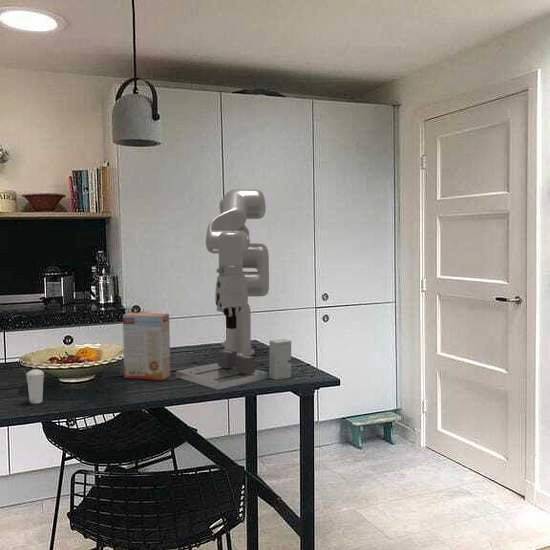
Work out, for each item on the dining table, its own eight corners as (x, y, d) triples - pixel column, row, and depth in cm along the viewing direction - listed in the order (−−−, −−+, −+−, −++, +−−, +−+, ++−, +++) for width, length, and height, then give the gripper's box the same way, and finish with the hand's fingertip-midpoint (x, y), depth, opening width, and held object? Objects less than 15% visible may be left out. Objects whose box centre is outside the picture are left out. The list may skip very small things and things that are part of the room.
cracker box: (171, 376, 200) (170, 313, 199) (162, 381, 194) (161, 315, 193) (133, 373, 204) (131, 311, 203) (123, 378, 199) (122, 313, 197)
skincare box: (276, 380, 195) (276, 342, 194) (268, 377, 199) (268, 340, 198) (292, 377, 199) (292, 340, 198) (284, 374, 202) (284, 338, 201)
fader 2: (235, 371, 197) (235, 355, 196) (244, 369, 199) (244, 354, 199) (245, 374, 193) (245, 358, 193) (255, 372, 196) (254, 356, 195)
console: (176, 377, 200) (175, 370, 200) (224, 367, 213) (224, 361, 213) (217, 389, 184) (217, 382, 184) (267, 378, 197) (267, 372, 197)
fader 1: (218, 366, 205) (217, 351, 204) (227, 364, 207) (227, 349, 207) (227, 368, 201) (227, 353, 200) (236, 366, 204) (236, 351, 203)
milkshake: (22, 401, 172) (21, 366, 171) (42, 399, 175) (41, 364, 174) (25, 405, 168) (24, 369, 167) (46, 402, 171) (45, 367, 170)
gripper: (219, 273, 187) (219, 333, 189) (256, 270, 197) (256, 326, 199) (204, 271, 192) (205, 329, 194) (241, 268, 202) (242, 323, 204)
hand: (231, 328), depth 196 cm, fingers closed
